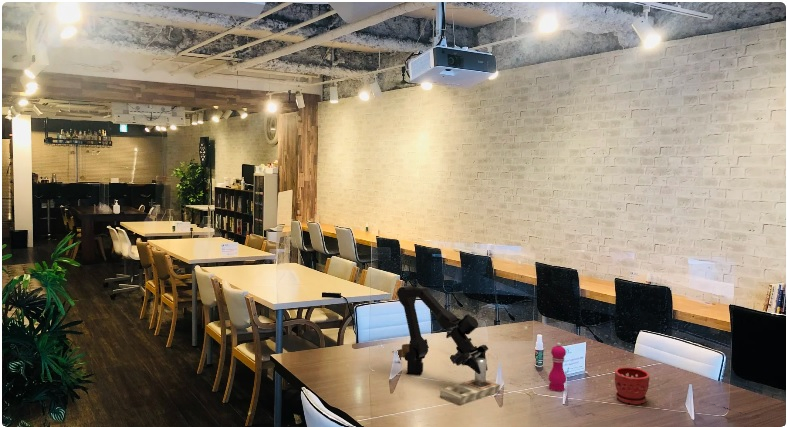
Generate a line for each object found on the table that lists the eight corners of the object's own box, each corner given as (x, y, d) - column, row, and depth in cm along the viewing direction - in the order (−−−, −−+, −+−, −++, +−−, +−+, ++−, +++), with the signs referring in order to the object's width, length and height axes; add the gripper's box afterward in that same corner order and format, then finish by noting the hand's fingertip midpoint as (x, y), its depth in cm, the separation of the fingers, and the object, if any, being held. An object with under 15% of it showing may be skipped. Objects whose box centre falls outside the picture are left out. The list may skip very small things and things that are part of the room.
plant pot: (609, 394, 263) (610, 366, 262) (641, 395, 263) (642, 367, 262) (619, 406, 250) (621, 376, 249) (653, 407, 250) (654, 377, 249)
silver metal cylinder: (475, 392, 260) (476, 361, 259) (473, 388, 264) (474, 357, 263) (486, 392, 260) (487, 361, 259) (483, 388, 265) (485, 357, 264)
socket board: (460, 405, 247) (460, 396, 246) (440, 396, 255) (440, 388, 255) (499, 391, 262) (499, 384, 262) (479, 384, 271) (479, 377, 270)
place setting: (430, 357, 309) (430, 345, 309) (400, 365, 295) (401, 353, 295) (405, 349, 322) (405, 337, 321) (375, 356, 308) (376, 344, 308)
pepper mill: (566, 387, 270) (568, 341, 269) (564, 392, 264) (567, 345, 262) (548, 384, 273) (550, 339, 271) (547, 390, 266) (549, 343, 264)
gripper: (461, 346, 278) (482, 376, 272) (437, 355, 264) (459, 388, 258) (478, 332, 273) (499, 363, 267) (454, 341, 258) (476, 373, 252)
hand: (483, 372), depth 261 cm, fingers open, 5 cm apart
